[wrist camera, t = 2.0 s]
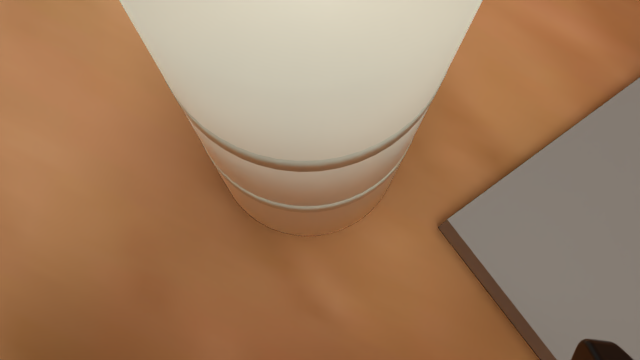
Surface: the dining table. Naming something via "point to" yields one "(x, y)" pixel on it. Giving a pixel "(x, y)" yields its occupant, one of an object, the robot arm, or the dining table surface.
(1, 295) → the dining table surface
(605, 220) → the shelf board
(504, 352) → the dining table surface
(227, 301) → the dining table surface
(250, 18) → the tumbler stack
